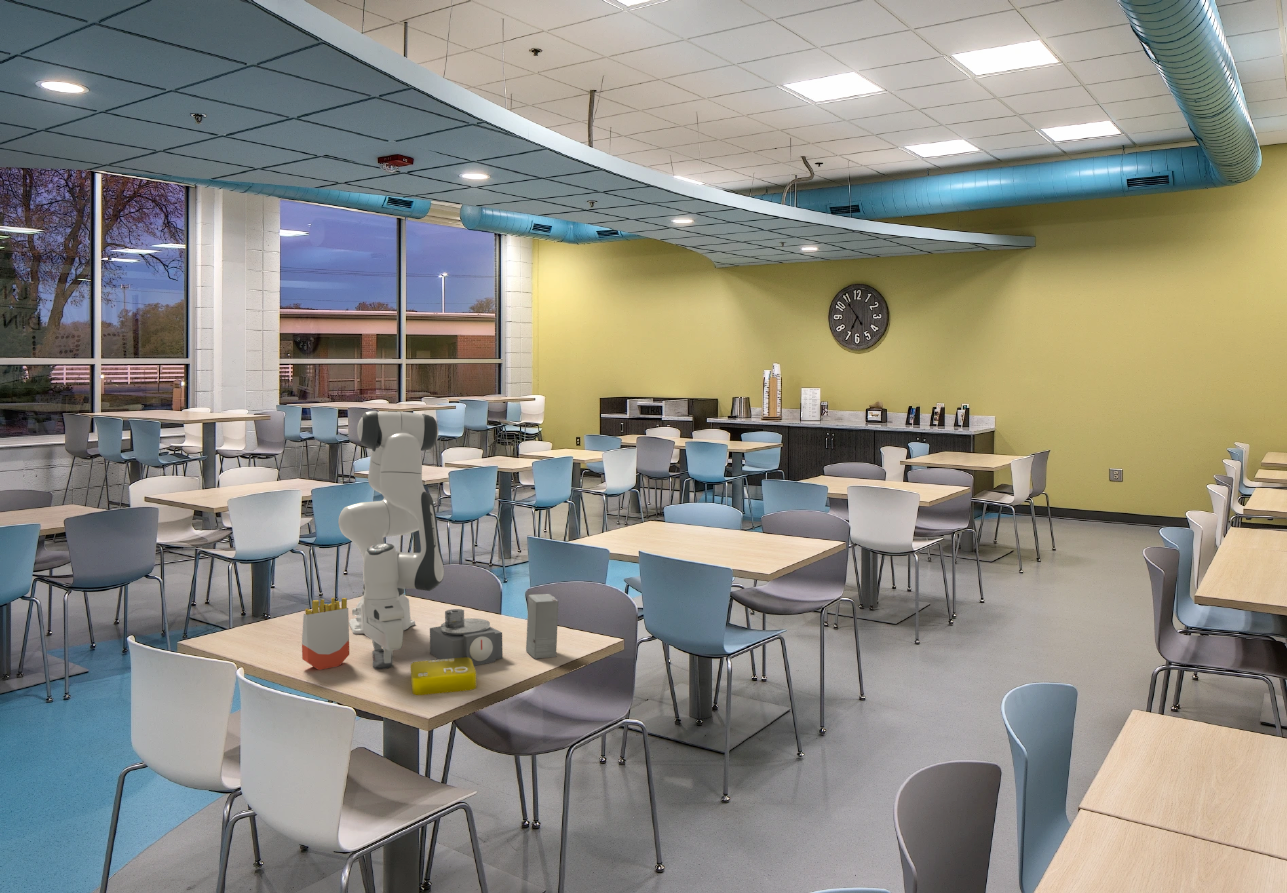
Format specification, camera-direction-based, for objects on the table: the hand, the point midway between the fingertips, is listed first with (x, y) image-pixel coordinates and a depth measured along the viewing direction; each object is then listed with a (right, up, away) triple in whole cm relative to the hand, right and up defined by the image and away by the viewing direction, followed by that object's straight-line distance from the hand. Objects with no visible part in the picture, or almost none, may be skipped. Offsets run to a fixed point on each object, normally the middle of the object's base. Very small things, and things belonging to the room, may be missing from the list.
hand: (382, 659), depth 232 cm
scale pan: (+20, +6, +9) cm, 23 cm away
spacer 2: (+17, +7, +7) cm, 20 cm away
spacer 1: (0, -2, 0) cm, 2 cm away
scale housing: (+21, -1, +8) cm, 22 cm away
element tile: (+19, -3, -14) cm, 24 cm away
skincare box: (+41, -1, +10) cm, 42 cm away
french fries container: (-15, -2, +1) cm, 15 cm away
